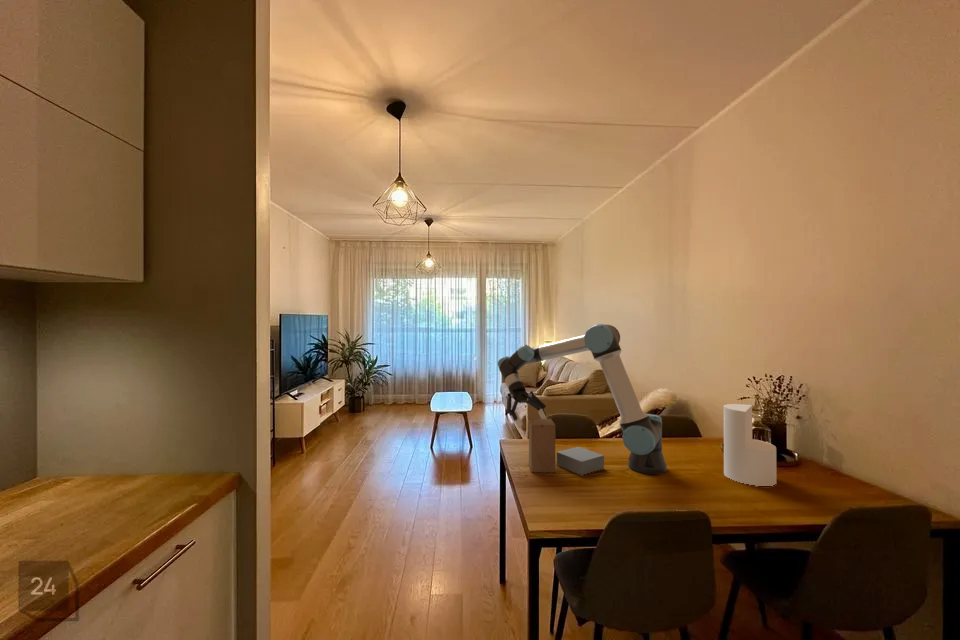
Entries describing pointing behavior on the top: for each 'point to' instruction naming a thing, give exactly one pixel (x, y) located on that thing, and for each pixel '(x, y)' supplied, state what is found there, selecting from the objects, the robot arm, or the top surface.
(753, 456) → the white stepped column
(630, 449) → the robot arm
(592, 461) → the slate base block
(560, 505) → the top surface
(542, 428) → the wooden block
